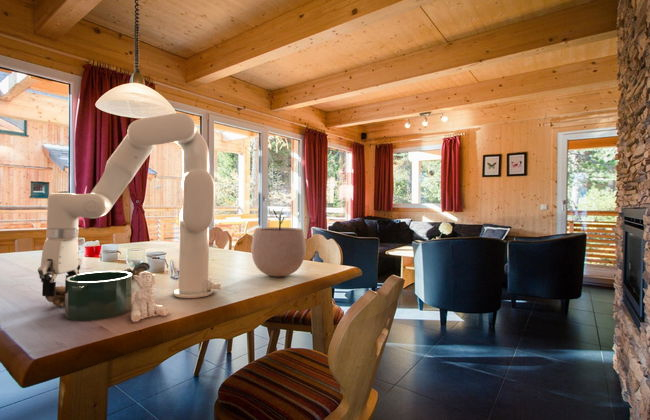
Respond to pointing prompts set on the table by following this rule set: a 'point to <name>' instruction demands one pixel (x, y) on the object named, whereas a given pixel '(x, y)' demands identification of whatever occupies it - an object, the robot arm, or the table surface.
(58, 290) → the mushroom
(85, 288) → the pot
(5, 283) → the table surface
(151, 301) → the seated beast figurine
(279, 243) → the plant pot
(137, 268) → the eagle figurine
